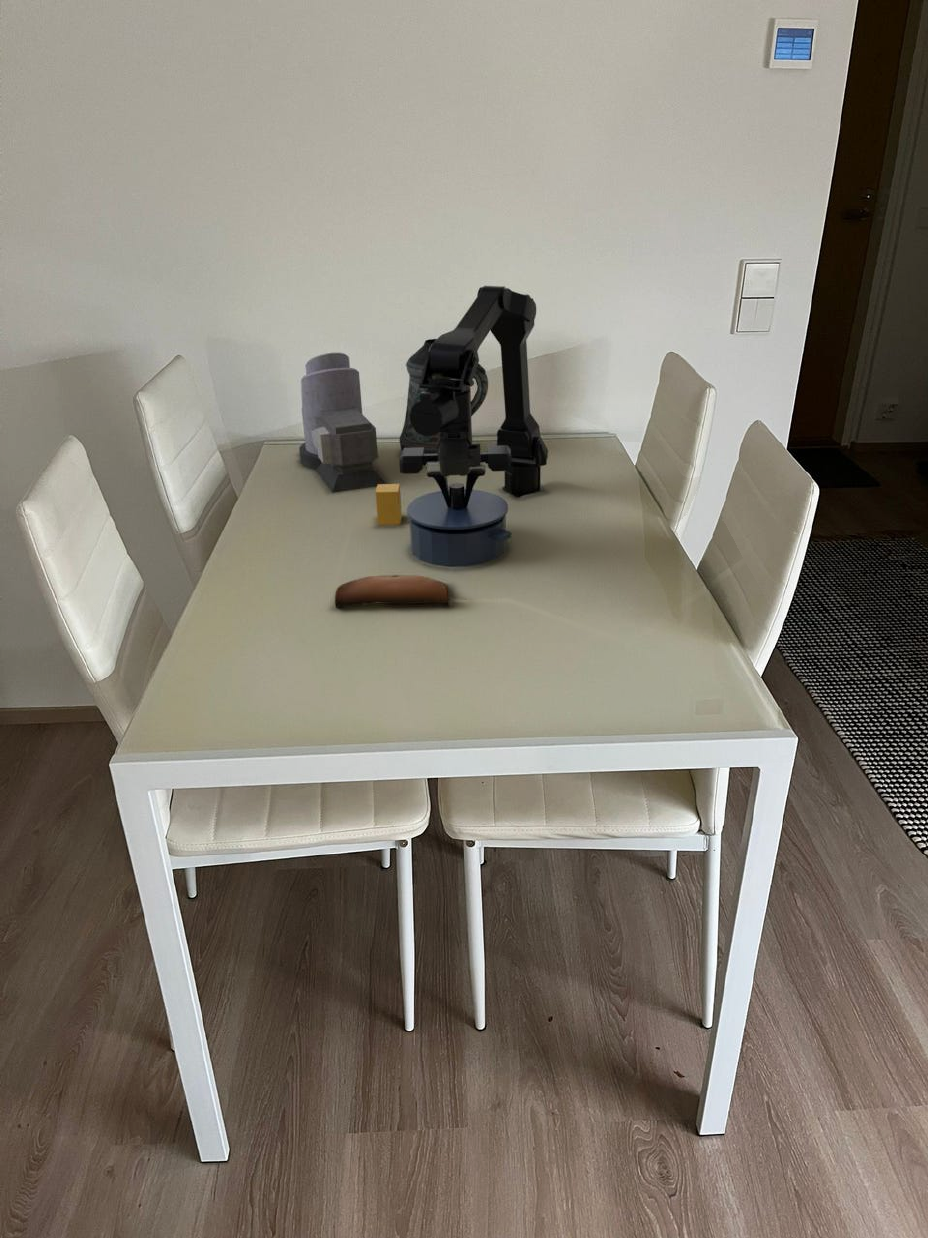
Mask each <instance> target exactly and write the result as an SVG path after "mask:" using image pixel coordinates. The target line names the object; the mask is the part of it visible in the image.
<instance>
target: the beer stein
mask: <svg viewBox="0 0 928 1238" xmlns="http://www.w3.org/2000/svg"><path fill="white" fill-rule="evenodd" d="M437 339H438V338H429V339H425V341H424V343H423V345H422V346H421V347H420V348H419V349H418V350H416V352H415V353H413V354H412V355H411V356H410V357H409V358H408V359H407V361H406V363H405V367H406V371H407V373H408V376H409V378H408V389H407V400H406V401H407V402H406V408H405V409H406V410H405V417H404V422H403V426H402V431H401V434H400V435H399V445H400V452H401V451H402V450H403V449H404V448H419V447H424V454H437V445H438V433H437V434H435V435H433V436H428V437H427V436H423V435H421V434H419V433H417V432H416V431H415V430H414V428H413V427H412V425H411V422H410V412H411V409H412V407H413V405H414V404H415V403H417V402H418V401H420V393H421V392H423V391H427V390H428V389H423V388H419V384H420V380H421V376H422V372H423V368H424V364H425V360H426V356H427V352H428V350H429V349H430V347H431V345H432V344H433V342H434V341H435V340H437ZM432 378H438V379H449V380H450V379H451V378H442V377H435V376H434V375H433V376H432ZM473 380H475V384H476V391H475V394H474V396H473V398H471V417H473V415H475V414H476V413H477V412H478V411H479V409H480V408H481V406H482V405H483V403H484V401H485V400H486V397H487V395H488V390H489V379H488V375H487V371H486V368H484V367H483V366H482V365H481V364H480V363H478V366H477V368H476V371H475V374H474V377H473Z"/></svg>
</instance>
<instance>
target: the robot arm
mask: <svg viewBox="0 0 928 1238" xmlns="http://www.w3.org/2000/svg"><path fill="white" fill-rule="evenodd" d="M536 316H537V304H536V301H535V299H534V298H533V297H532V296H531V295H529V294H527V293H519V292H516V291H514V290H511V289H510V288H508V287H506V286H505V285H503V286H501V285H484V286H480V287H479V288H478V291H477V294H476V298H475V299H474V300H473V302H472V303H471V305H470V306H469V308H468V309H467V311H466V312H465V314H464V315H463V316H462V318H461V319H460V321H459V322H458V323H457V325H456V326H455V328H454V329H453V330H450V331H448V332H445V333H443V334H440V336H438V337H437V338H436V339H437V340H435V341H434V342H433V344H432V345H431V347H430V349H429V350H428V352H427V356H426V360H425V364H424V368H423V372H422V376H421V380H420V384H419V388H423V389H428V390H427V391H423V392H421V393H420V401H418V402H417V403H415V404H414V405H413V407H412V409H411V412H410V422H411V425H412V427H413V428H414V430H415V431H416V432H417V433H419V434H421V435H423V436H427V437H428V436H433V435H435V434H437V433H438V445H437V454H424V447H419V448H404V449H403V450H402V451H401V450H400V455H399V472H400V474H403V475H404V474H407V475H409V474H419V473H420V472H421V471H423V469H424V466H425V467H426V477H428V478H433V480H434V481H435V482H436V483H437V485H438V487H439V490H440V491H442V494H443V497H444V499H445V502H446V504H447V507H450V494H449V482H448V481H449V480H448V477H449V476H461V477H465V476H466V480H465V487H464V489H465V507H467V506H468V502H469V499H470V496H471V492H472V490H474V486H475V484H476V482H477V480H478V479H479V478H480V477H483V476H485V475H486V467H487V468H488V469H489V470H490V471H492V472H504V485H503V486H502V487H501V488H502V489H501V490H503V491H504V492H506V493H508V494H509V495H511V496H513V497H515V498H517V499H519V498H521V497H524V496H528V495H533V494H536V493H540V492H544V491H545V488H543V487H541V474H542V473H541V470H542V467H543V466H547V464H548V463H547V462H548V458H549V449H548V447H547V446H546V443H545V442H544V440H543V438H542V437H541V430H540V424H538V422H537V420H536V419H535V418H534V416H533V414H531V405H530V404H531V402H530V386H529V385H530V384H529V383H530V382H529V364H528V363H529V362H528V346H527V341H528V338H529V336H530V335H531V333H532V332H533V328H534V327H535V320H536ZM490 332H491V334H492V335H493V336H494V338H495V340H496V342H498V344H499V345H500V346H499V347H500V358H501V370H502V371H501V372H502V386H503V401H504V415H505V417H504V421H502V423H501V425H500V427H499V428H498V430H497V432H496V445H487V452H486V451H485V452H484V451H482V452H481V444H480V443H473V427H472V416H471V401H472V392H471V388H472V387H473V386H474V385H475V381H474V378H473V377H474V374H475V371H476V368H477V366H478V364H480V357H479V353H478V351H479V349H480V347H481V345H482V344H483V342H484V341H485V339H486V338H487V337H488V335H489V333H490ZM433 375H434V376H435V377H442V378H451V379H450V380H449V379H438V378H432V376H433ZM486 465H487V466H486Z"/></svg>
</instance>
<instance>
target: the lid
mask: <svg viewBox="0 0 928 1238" xmlns="http://www.w3.org/2000/svg"><path fill="white" fill-rule="evenodd" d="M448 487H449V494H450V507H447V504H446V502H445V499H444V497H443V494H442V491H441V490H438V491H433V492H429V493H425V494H423V495H421V496H419V497H416V498H414V499H413V500H412V501H411V502H409V504H408V505H407V508H406V513H407V516H408V518H410V519H411V520H412V521H414V522H416V523H418V524H420V525H423V526H426V527H430V528H435V529H445V530H450V531H464V530H463V529H472V528H478V527H483V526H486V525H489V524H492V523H495V522H497V521H499V520H500V519H502V518H503V517H504V516H505V515H506V516H507V514H508V511H509V504H508V502H507V500H506V499H505V498H503V497H502V496H500V495H498V494H496V493H493V492H489V491H485V490H481V489H472V492H471V496H470V499H469V502H468V506H467V507H465V484H464V483H461V482H453V483H451V484H448ZM410 519H409V520H410Z"/></svg>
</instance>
